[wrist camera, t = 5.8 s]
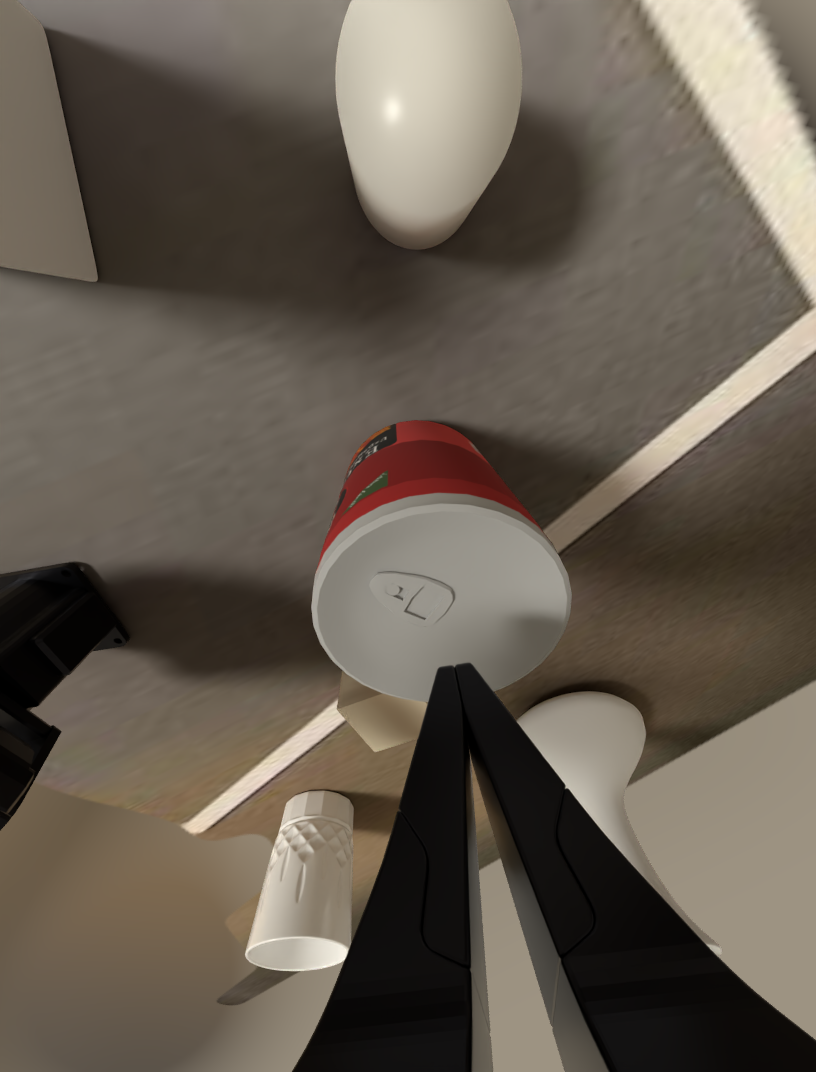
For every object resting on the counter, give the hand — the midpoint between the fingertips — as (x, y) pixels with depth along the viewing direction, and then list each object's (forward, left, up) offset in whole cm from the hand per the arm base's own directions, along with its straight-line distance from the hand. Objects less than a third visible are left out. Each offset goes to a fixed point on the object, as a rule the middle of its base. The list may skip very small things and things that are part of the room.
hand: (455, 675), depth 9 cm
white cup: (-15, -32, -13) cm, 38 cm away
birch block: (-4, -13, -13) cm, 19 cm away
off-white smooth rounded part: (+2, +13, -13) cm, 18 cm away
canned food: (0, 0, -13) cm, 13 cm away
